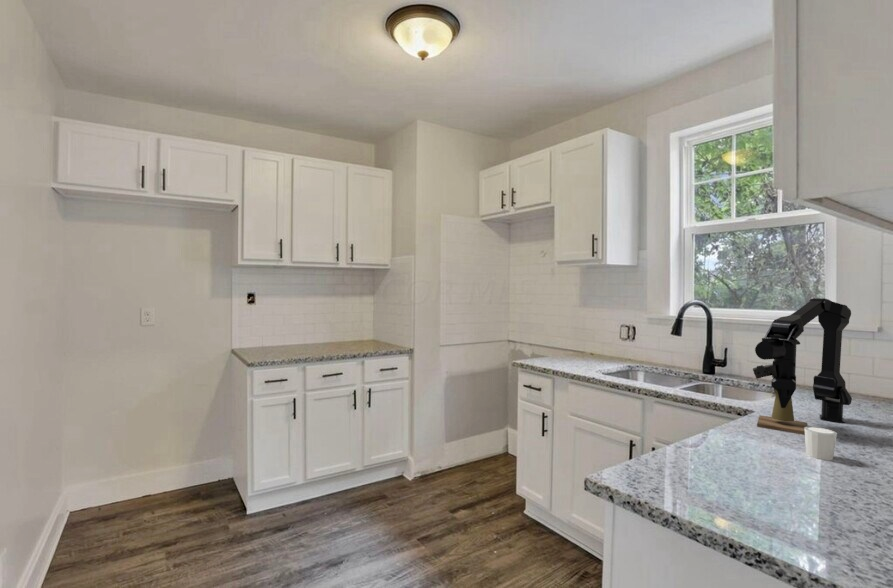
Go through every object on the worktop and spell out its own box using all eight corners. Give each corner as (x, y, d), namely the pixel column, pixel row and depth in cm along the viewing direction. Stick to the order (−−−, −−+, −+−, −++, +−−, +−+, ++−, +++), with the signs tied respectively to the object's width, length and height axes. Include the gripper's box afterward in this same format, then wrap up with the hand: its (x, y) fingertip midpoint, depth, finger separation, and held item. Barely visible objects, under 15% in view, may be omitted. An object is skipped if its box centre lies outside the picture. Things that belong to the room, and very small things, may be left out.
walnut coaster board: (759, 418, 161) (759, 415, 161) (807, 425, 153) (807, 422, 153) (756, 426, 151) (757, 423, 151) (807, 435, 143) (808, 431, 143)
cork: (786, 416, 155) (788, 383, 154) (798, 421, 149) (800, 387, 148) (767, 415, 155) (768, 382, 155) (778, 420, 149) (779, 386, 149)
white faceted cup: (831, 454, 126) (832, 428, 126) (839, 462, 120) (841, 435, 120) (800, 450, 129) (801, 424, 129) (806, 458, 123) (807, 431, 123)
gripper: (756, 352, 164) (755, 397, 164) (753, 358, 149) (751, 407, 149) (796, 356, 157) (795, 402, 158) (796, 363, 142) (795, 414, 143)
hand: (783, 406), depth 152 cm, fingers closed on cork, 4 cm apart
